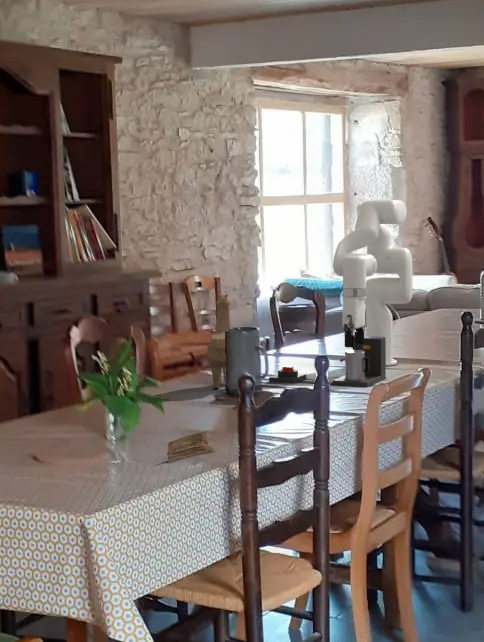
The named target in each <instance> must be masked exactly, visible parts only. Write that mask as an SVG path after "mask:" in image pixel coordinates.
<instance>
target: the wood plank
mask: <svg viewBox="0 0 484 642" xmlns="http://www.w3.org/2000/svg"><path fill="white" fill-rule="evenodd" d="M210 452H213V447H212V446H211V445H210V442H209V440H208V436H207V430H205V431H202V432H198V433H194V434H189V435H186V436H183V437H180V438H176V439H173V440H170V441H169V442H168V444H167V453H166V455H167V463H172V462H174V461H177V460H181V459H184V458H188V457H192V456H196V455H200V454H205V453H210Z"/></svg>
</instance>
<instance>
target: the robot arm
mask: <svg viewBox="0 0 484 642" xmlns="http://www.w3.org/2000/svg"><path fill="white" fill-rule="evenodd" d="M407 212H408V211H407V205H406V204H405V202H404V201H403V200H401V199H367V200H363V201H360V202H359V203H358V204H357V207H356V217H355V221H354V226H353V231H351V232H349V233H348V234H347V235H345V236H344V237H343V238H342V239H340V241H339V242H338V244H337V245H336V249H335V252H334V256H333V261H332V262H333V263H332V269H333V272H334V274H335V275H337V276H338V277H342V298H343V303H342V316H341V327H342V328H343V331H344V332H343V335H344V348H352V349H353V347H354V346H355V344H364V336H371V337H386V367H387V366H388V367H389V366H395V365H397V364H398V360H396V359H394V358H393V355H394V352H393V351H394V349H393V347H394V346H393V345H394V344H393V340H394V339H393V337H394V336H393V334H394V333H393V332H394V331H393V325H394V323H393V322H394V321H393V314H392V312H391V310H390V309H389V308H388V307H387V305H406V304H409V303H410V302H411V301H412V298H413V286H414V285H413V256H412V253H411V251H410V249H408V248H406V247H399V246H398V247H397V246H395V247H393V246H392V240H391V239H392V234H391V231H390V229H389V228H388V227H387V225H402V224H403V223H405V220H406V218H407ZM363 248H366V253H353V252H355V251H358V250H361V249H363ZM374 274H379V275H380V274H381V275H382V274H387V275H388V274H389V275H390V274H391V275H398V277H386V276H384V277H383V276H375V277H371V276H373V275H374ZM367 277H370V278H368V279H367Z"/></svg>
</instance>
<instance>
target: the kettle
mask: <svg viewBox="0 0 484 642" xmlns="http://www.w3.org/2000/svg"><path fill="white" fill-rule="evenodd" d="M365 360H366V369H365ZM339 362H340V363H343V362H344V375H345V379H348V380H363V379H365V372H369V358H368V357H365V351H362V350H353V349H350V350H349V349H348V350H345V351H344V356H342V357H341V358H340V359H339Z"/></svg>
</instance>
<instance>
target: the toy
mask: <svg viewBox="0 0 484 642" xmlns="http://www.w3.org/2000/svg"><path fill="white" fill-rule="evenodd" d="M217 295H218V299H217V300H216V302H215V304H216V306H217V307H216V309H217V310H216V311H217V312H216V321H215V322H216V323H215V328H214V332H213V333H214V334H212V335H211V337H210V341H208V345H207V350H206V358H207V361H208V363H209V365H210V368H211V375H212V383H213V390H216V391H217V390H219V389H220V386H221V384H222V375H223V381H224V382H225V380H226V376H225V362H226V354H225V332H226V331H227V330H229V329H233V325H232V321H231V320H232V319H231V313H230V308H231V307H230V306H231V302H232V301H231V300H230V298H229V293H225V294H221V293H218V294H217Z"/></svg>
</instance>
